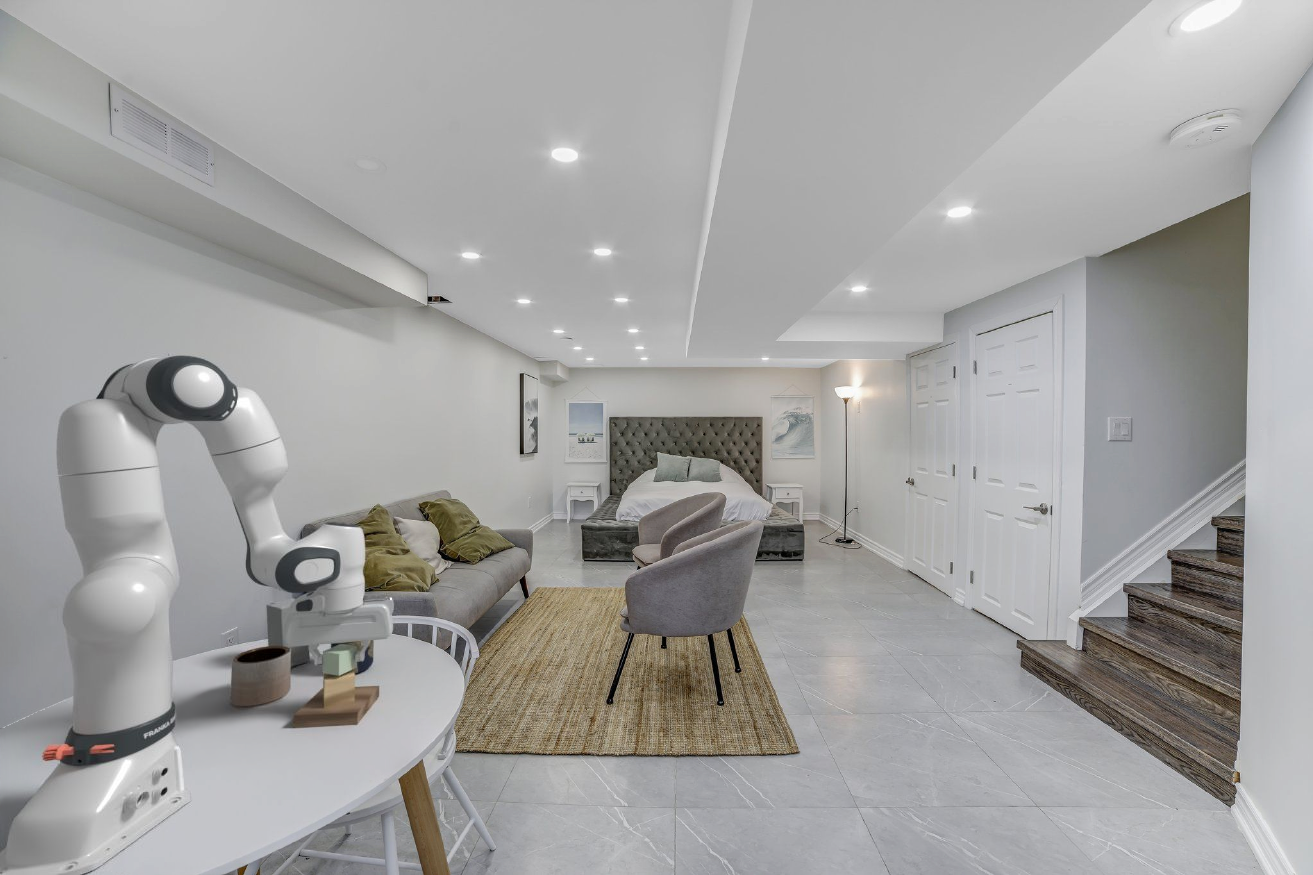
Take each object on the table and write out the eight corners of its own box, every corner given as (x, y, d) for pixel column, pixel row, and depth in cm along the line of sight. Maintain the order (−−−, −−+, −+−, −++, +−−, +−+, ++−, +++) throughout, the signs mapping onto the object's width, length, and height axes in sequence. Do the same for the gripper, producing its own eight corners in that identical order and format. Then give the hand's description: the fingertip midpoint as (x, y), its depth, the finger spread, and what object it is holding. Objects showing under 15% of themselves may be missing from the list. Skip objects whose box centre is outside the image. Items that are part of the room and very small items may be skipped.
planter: (301, 687, 125) (302, 646, 126) (263, 710, 115) (264, 665, 115) (259, 684, 127) (260, 643, 127) (216, 707, 116) (218, 662, 116)
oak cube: (354, 701, 114) (355, 675, 114) (324, 708, 111) (324, 681, 111) (352, 691, 118) (352, 666, 118) (323, 697, 115) (323, 672, 115)
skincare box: (310, 662, 140) (311, 601, 140) (279, 671, 134) (281, 608, 134) (294, 655, 144) (295, 595, 144) (264, 664, 138) (265, 602, 138)
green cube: (338, 675, 112) (339, 654, 112) (322, 672, 113) (322, 651, 113) (356, 667, 116) (357, 646, 116) (340, 664, 117) (341, 643, 118)
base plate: (357, 724, 109) (357, 712, 109) (293, 727, 108) (293, 715, 108) (379, 696, 121) (379, 685, 121) (321, 699, 120) (322, 688, 120)
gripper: (397, 590, 121) (395, 652, 121) (292, 596, 115) (291, 661, 115) (391, 598, 115) (390, 663, 115) (281, 605, 109) (279, 673, 109)
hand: (339, 662), depth 115 cm, fingers closed on green cube, 6 cm apart
